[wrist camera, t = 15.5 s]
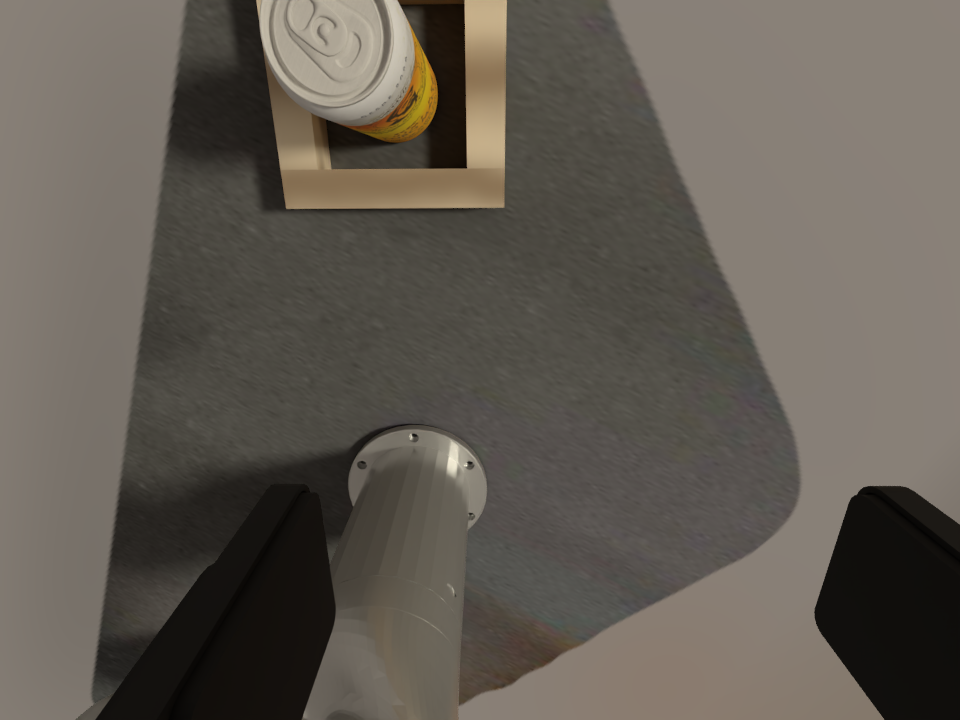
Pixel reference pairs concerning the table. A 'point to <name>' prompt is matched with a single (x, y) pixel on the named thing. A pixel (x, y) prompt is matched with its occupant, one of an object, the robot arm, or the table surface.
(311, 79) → the beer can
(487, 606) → the table surface
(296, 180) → the can holder
